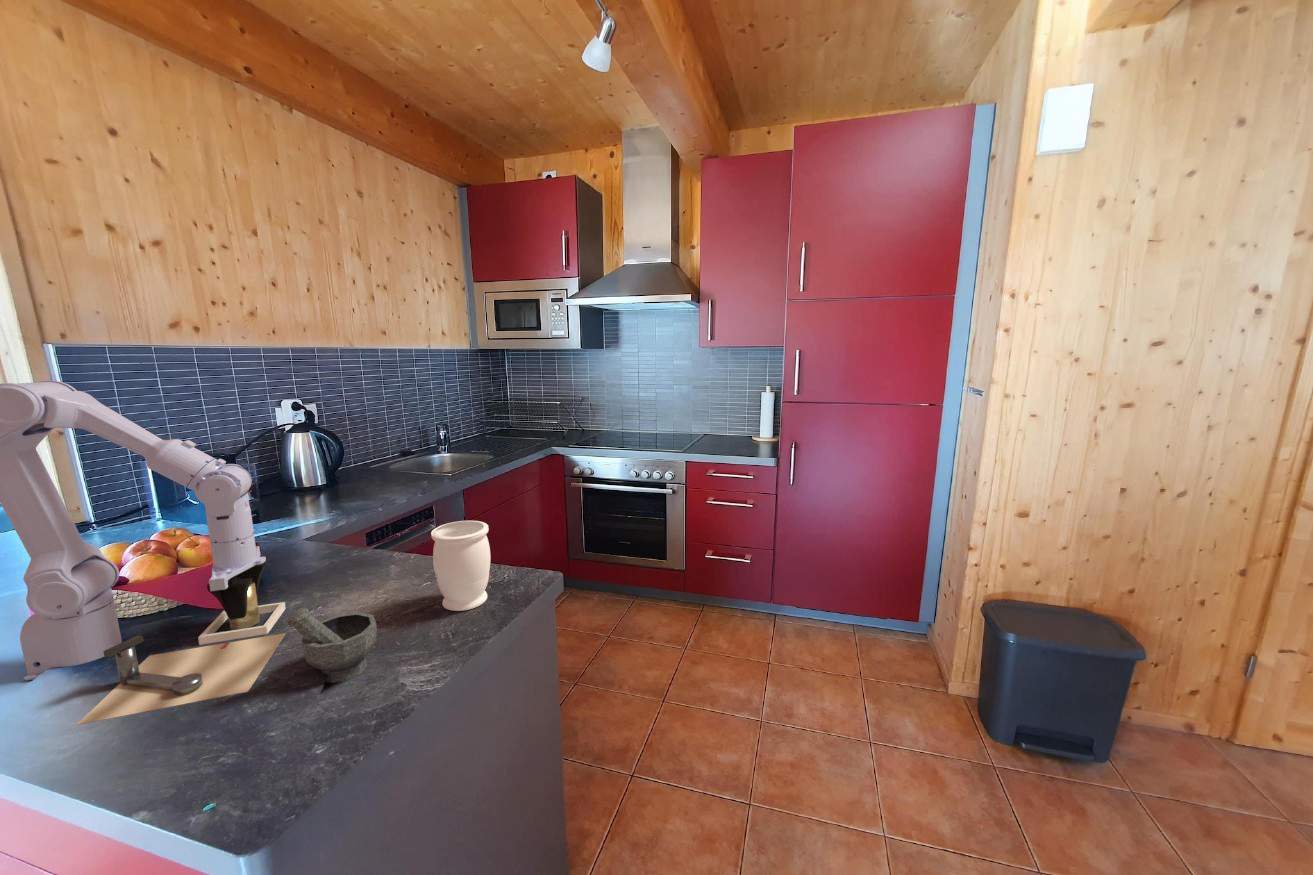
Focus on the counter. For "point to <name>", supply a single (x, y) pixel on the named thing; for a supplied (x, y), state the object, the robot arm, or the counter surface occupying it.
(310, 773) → the counter surface
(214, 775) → the counter surface
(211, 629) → the tray
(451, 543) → the jar
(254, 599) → the brass cylinder
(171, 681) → the crank
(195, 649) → the crank board
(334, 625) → the mortar and pestle
